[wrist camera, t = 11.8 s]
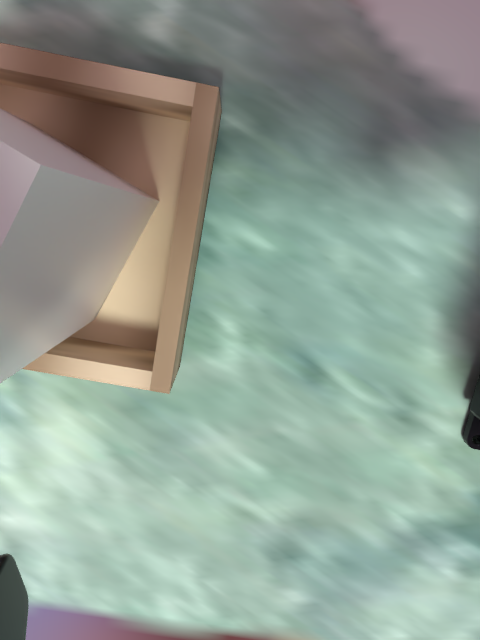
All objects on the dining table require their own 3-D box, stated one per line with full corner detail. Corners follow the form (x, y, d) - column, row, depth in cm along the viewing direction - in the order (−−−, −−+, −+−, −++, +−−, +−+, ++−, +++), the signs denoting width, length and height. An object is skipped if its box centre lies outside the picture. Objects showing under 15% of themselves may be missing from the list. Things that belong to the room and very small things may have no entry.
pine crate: (221, 111, 19) (218, 87, 16) (179, 366, 22) (169, 393, 18) (-54, 56, 19) (-119, 18, 15) (-67, 324, 21) (-125, 344, 18)
